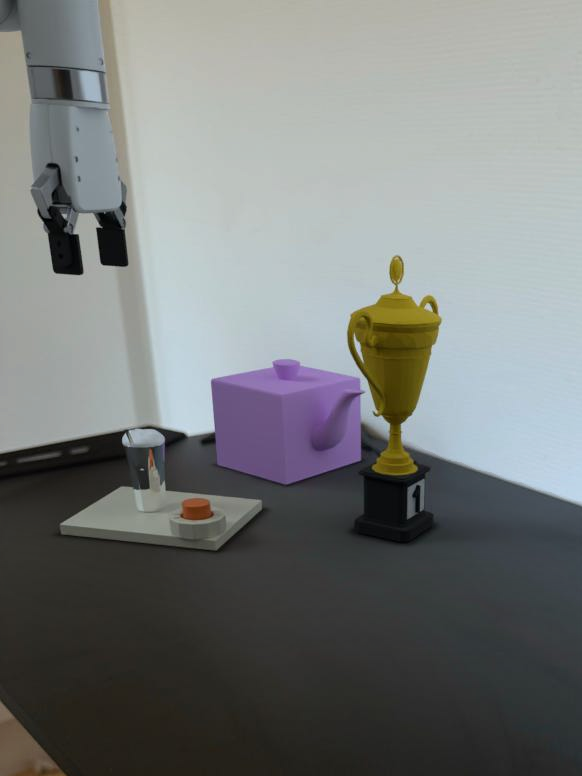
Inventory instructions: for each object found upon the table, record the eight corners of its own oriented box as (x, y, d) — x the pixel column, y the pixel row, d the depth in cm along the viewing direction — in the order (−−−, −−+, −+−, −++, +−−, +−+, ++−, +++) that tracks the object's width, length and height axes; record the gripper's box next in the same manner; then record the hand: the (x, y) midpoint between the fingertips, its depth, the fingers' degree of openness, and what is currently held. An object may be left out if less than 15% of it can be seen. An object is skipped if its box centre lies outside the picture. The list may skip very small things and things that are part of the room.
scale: (58, 535, 102) (54, 510, 101) (122, 495, 115) (119, 471, 114) (214, 552, 100) (212, 526, 99) (262, 509, 113) (260, 485, 112)
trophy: (390, 564, 100) (392, 265, 86) (314, 546, 103) (304, 256, 89) (466, 512, 115) (478, 253, 102) (397, 499, 119) (400, 246, 105)
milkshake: (118, 513, 106) (107, 426, 101) (144, 499, 110) (134, 415, 106) (154, 518, 105) (144, 431, 100) (179, 504, 110) (170, 420, 105)
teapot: (326, 496, 118) (324, 385, 112) (193, 457, 130) (183, 355, 124) (400, 470, 130) (401, 368, 123) (271, 437, 141) (266, 342, 135)
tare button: (178, 520, 101) (176, 505, 100) (190, 511, 103) (188, 496, 103) (204, 523, 100) (203, 507, 100) (215, 514, 103) (214, 499, 102)
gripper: (80, 95, 103) (101, 261, 111) (-17, 82, 88) (15, 275, 96) (143, 99, 102) (160, 265, 110) (57, 86, 87) (83, 280, 95)
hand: (92, 269), depth 103 cm, fingers open, 9 cm apart
